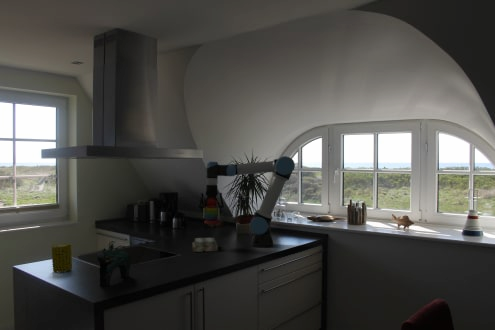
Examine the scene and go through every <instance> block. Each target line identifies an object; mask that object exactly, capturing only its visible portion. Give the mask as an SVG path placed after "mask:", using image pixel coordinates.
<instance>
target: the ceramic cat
mask: <svg viewBox="0 0 495 330" xmlns="http://www.w3.org/2000/svg"><path fill="white" fill-rule="evenodd" d="M112 242H113V243H114V244H115V243H116V242H115V241H114V240H110V241H109V243H108V248H107V249H106V248H105V247H104V248H101V249H100V250H99V251H98V252H97V261H98V262H99V286H101V287H108V286H110V285H111V278H112V275H113V272H114V271H115V269H117V268H118V269H119V271H120V278H123V277H124V279H125V277H126V278H128V277H129V276H130V270H131V258H130V254H129V251H127V248H126V246H125V245H118V246H117V247H115V248H114V247H111V248H110V245H111V244H112ZM119 247H121V248H119Z"/></svg>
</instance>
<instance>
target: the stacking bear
mask: <svg viewBox="0 0 495 330" xmlns="http://www.w3.org/2000/svg"><path fill="white" fill-rule="evenodd" d="M217 200H218V199H217ZM217 200H216V199H215V198H214V197H210V198H209V199H208V200H207V202H206V204H207V205H205V207H204V208H205V211H204V222H203V223H204V224H206V225H218V224H220V223H221V220H220V219H219V218H218V208H219V207H218V204H217V202H219V200H218V201H217Z"/></svg>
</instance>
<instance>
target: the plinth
mask: <svg viewBox="0 0 495 330" xmlns="http://www.w3.org/2000/svg"><path fill="white" fill-rule="evenodd" d="M218 248H219V246H218V243H217V241H216V240H215V237H197V238H196V237H195V238H194V241H193V242H192V252H193V253H198V252H199V253H200V252H201V253H202V252H203V251H205V252H218V251H219V249H218Z"/></svg>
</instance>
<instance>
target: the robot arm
mask: <svg viewBox="0 0 495 330" xmlns="http://www.w3.org/2000/svg"><path fill="white" fill-rule="evenodd" d="M295 166H296V164H295V161H294V160H293V159H292V157H289V156H280V157H279V158H275V159H273V160H269V161H268V160H267V161H260V162H250V163H249V162H248V163H237V164H236V163H235V164H219V162H218V161H207V162H206V180H205V181H206V185H205V192H201V197H200V201H199V203H198V207H199V208H201V213H202V215H203V216H202V218H203V219H205V216H204V212H205V208H206V204H207V200H208V199H209V198H210V197H214V198H215V199H216V200H217V201H218V202H217V204H216V205H217V208H218V218H217V219H220V214H221V213H222V208H225V204H224V202H223V197H222V196H223V192H218V182H219V181H218V180H219V179H218V177H235V176H241V175H253V174H254V175H255V174H265V173H272V176H273V177H272V178H271V182H270V184H269V185H268V188H267V190H266V193H265V195H264V197H263V200H262V201H261V204H260V206H259V209H257V210H256V211H255V212H254V213H253V218H252V219H251V220H250V223H249V228H250V230H251V232H252V233H253V236H252V240H251V246H252V247H254V248H256V247H257V248H271V247H273V246H274V240H273V237H272V232H271V231H272V230H271V229H272V227H271V226H272V225H271V224H272V223H271V222H272V221H273V216H272V214H273V211H274V210H275V206H276V205H277V202H278V200H279V197H280V195H281V193H282V191H283V189H284V186H285V184H286V182H287V181H289V180H290V178H291V176H292V173H293V172H294V170H295V169H296V168H295ZM204 196H206V198H205V200H204V202H203V199H204ZM217 196H218V197H219V199H220V202H219V200H218V198H217Z"/></svg>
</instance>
